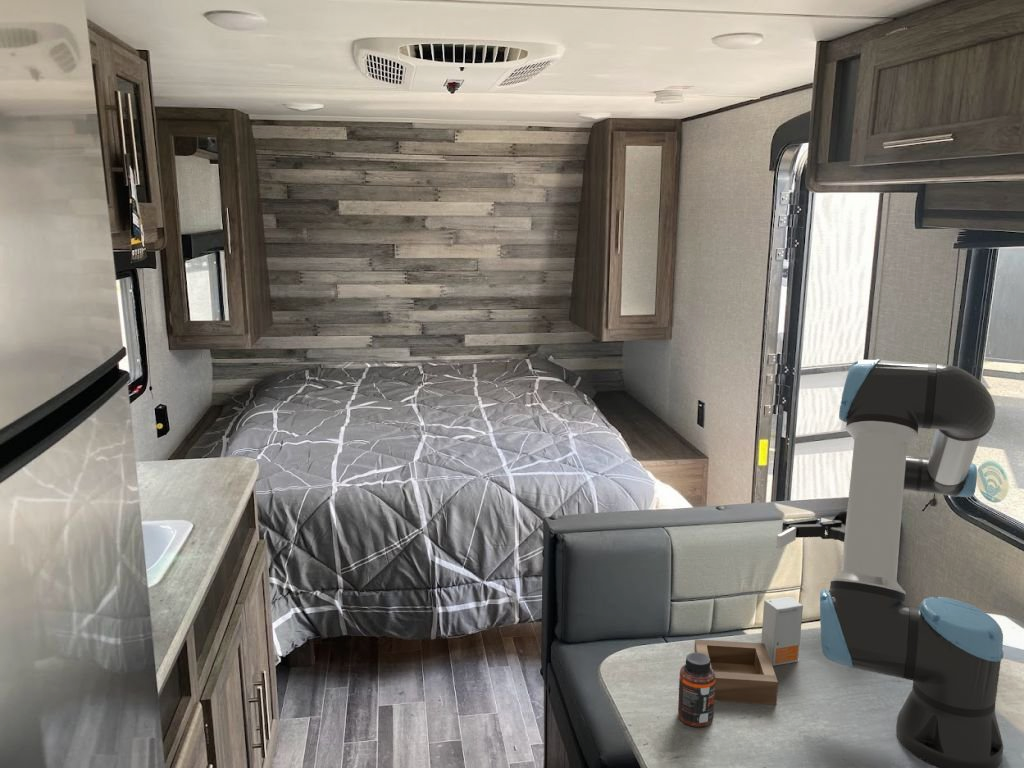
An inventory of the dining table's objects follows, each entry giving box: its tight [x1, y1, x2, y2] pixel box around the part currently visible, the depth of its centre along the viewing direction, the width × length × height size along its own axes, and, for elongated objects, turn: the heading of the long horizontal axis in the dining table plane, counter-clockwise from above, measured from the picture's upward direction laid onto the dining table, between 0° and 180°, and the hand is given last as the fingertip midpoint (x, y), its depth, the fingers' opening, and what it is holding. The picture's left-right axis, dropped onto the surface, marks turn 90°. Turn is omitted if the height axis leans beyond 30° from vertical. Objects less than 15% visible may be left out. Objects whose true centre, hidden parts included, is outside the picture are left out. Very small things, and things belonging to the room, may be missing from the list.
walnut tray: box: [693, 638, 779, 706], centre depth 145 cm, size 13×13×4 cm
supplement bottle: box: [677, 652, 715, 728], centre depth 134 cm, size 6×6×11 cm
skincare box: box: [760, 596, 804, 667], centre depth 152 cm, size 6×4×12 cm
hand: (809, 552), depth 156 cm, fingers open, 13 cm apart
